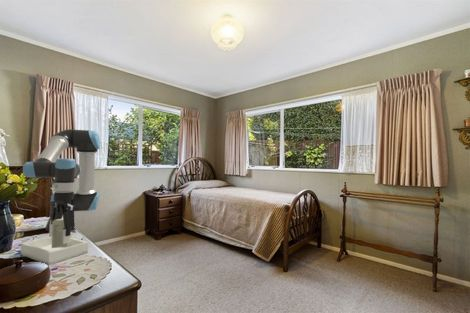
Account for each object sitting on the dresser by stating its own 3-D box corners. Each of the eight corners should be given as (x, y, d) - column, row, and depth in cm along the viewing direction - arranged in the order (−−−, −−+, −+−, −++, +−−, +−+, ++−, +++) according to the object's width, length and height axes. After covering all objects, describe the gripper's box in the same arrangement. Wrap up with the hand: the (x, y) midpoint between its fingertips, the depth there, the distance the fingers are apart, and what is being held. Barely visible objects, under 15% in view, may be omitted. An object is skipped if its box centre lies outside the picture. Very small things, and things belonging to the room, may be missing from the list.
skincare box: (70, 244, 110) (72, 218, 111) (67, 247, 106) (69, 220, 107) (54, 245, 108) (55, 218, 109) (50, 248, 104) (52, 220, 105)
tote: (59, 244, 122) (59, 234, 122) (87, 252, 111) (88, 242, 111) (20, 254, 107) (21, 243, 108) (48, 265, 97) (49, 253, 97)
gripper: (43, 190, 109) (40, 240, 108) (67, 193, 101) (64, 247, 100) (60, 189, 116) (58, 236, 115) (85, 192, 107) (82, 242, 106)
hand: (61, 241), depth 107 cm, fingers closed on skincare box, 7 cm apart
